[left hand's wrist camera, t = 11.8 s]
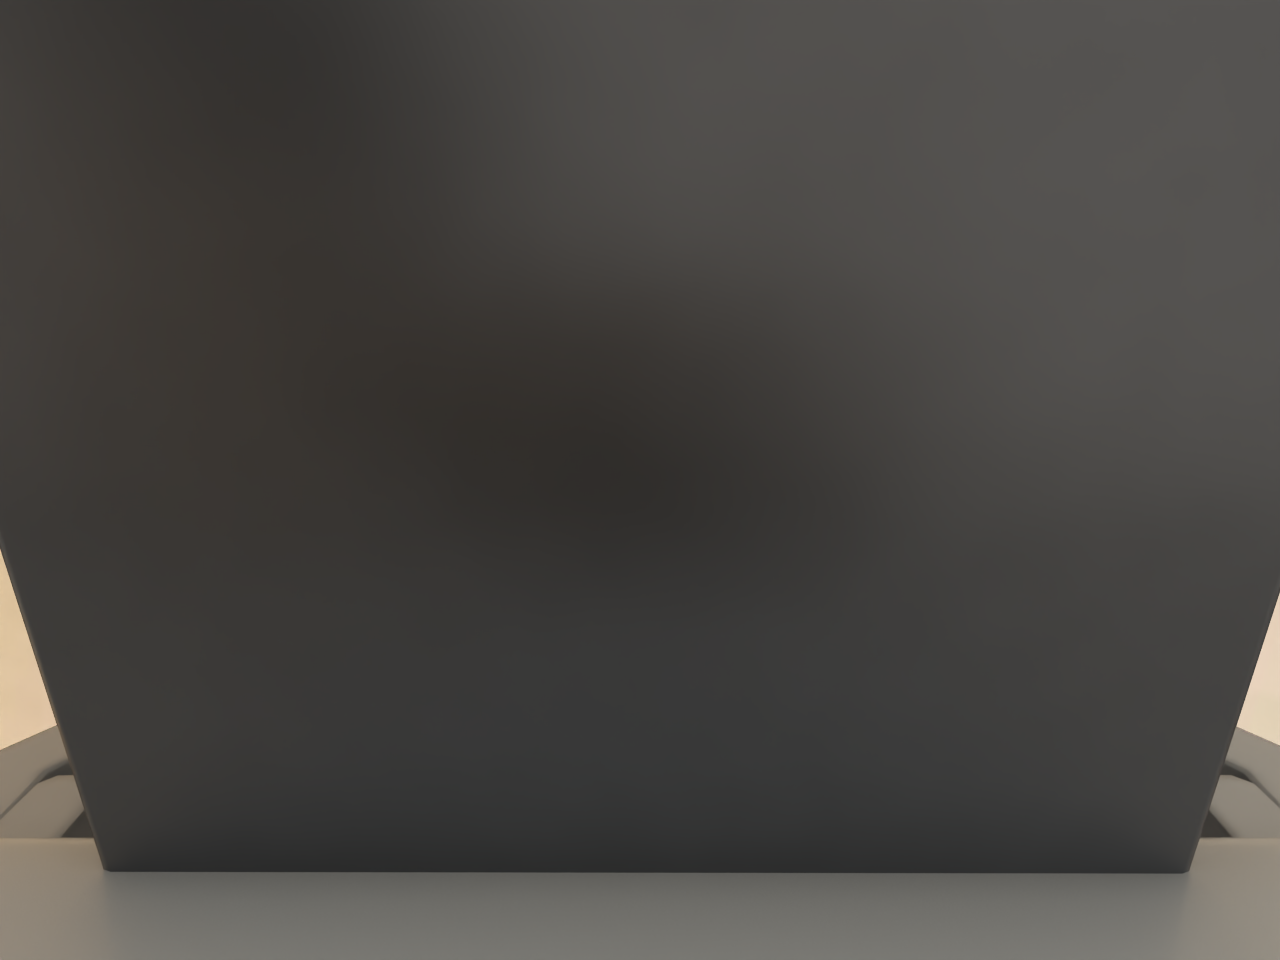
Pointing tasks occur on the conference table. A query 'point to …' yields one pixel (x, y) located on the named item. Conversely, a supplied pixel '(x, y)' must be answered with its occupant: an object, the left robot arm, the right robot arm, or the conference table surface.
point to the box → (642, 427)
